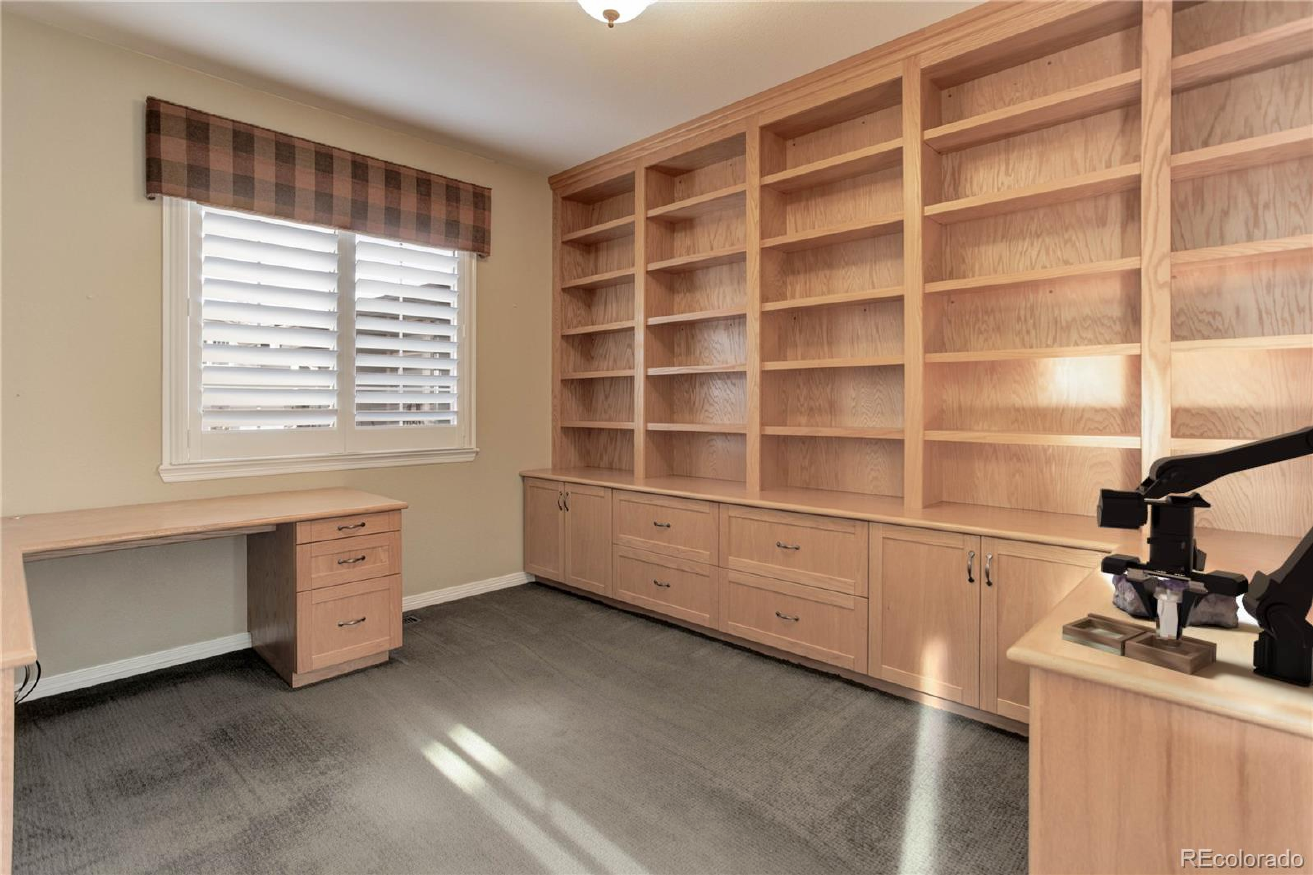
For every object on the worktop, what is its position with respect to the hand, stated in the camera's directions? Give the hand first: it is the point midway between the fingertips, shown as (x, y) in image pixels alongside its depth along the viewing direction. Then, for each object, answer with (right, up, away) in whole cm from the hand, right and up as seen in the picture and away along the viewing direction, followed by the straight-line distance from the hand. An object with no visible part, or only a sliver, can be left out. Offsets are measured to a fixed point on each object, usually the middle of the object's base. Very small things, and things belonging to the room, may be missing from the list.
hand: (1168, 624), depth 108 cm
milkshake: (0, -4, 0) cm, 4 cm away
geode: (+19, -5, +22) cm, 30 cm away
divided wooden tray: (-3, -6, +5) cm, 8 cm away
